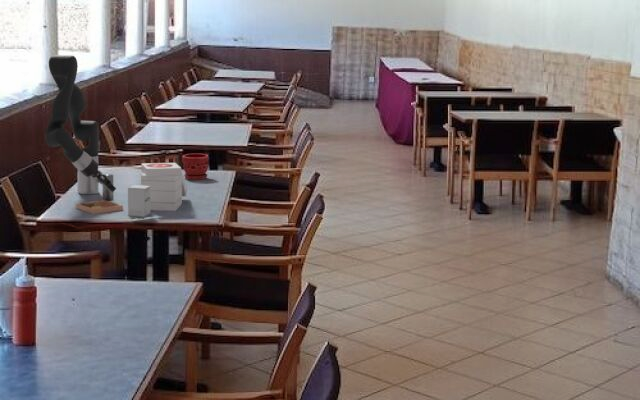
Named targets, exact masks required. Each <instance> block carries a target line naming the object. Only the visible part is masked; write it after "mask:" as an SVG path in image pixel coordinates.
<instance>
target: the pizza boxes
mask: <svg viewBox="0 0 640 400" xmlns="http://www.w3.org/2000/svg"><path fill="white" fill-rule="evenodd" d="M140 165H141V168H140V169H141V172H142V174H141V175H140V185H143V186H150V211H169V212H170V211H173V212H174V211H175V212H176V211H177V210H178V209H179V208H180V207H181V206H182V204H183V197H187V194H188V188H187V185H186V182H185V181H186V180H185V178H184V177H185V176H184V175H183V170H182V167H181V166H180V165H178V164H177V162H151V163H150V162H149V163H148V162H147V163H141V164H140Z"/></svg>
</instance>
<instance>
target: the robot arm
mask: <svg viewBox="0 0 640 400" xmlns="http://www.w3.org/2000/svg"><path fill="white" fill-rule="evenodd" d="M78 67H79V66H78V60H77V58H76V57H75V55H70V54H68V55H66V54H65V55H64V54H56V55H52V56H50V57H49V60H48V68H49V71H50V74H51V77H52V79H53V80H54V83H55V84H56V86H57V89H58V91H59V92H58V93H57V95H55V97H54V99H53V101H52V104H51V110H50V111H51V112H50V118H49V119H50V120H49V121H48V124H47V128H46V131H45V137H44V138H45V142H46V144H47V145H48V146H49V147H51V148H56V147H59V146H60V147H62V149H63V150H62V154H63V157H65V158H66V159H67V160H68V161H69V162H71V164H72V165H73V166H74V167H75V168H76V169H77V173H76V174H77V175H76V176H77V177H76V178H77V179H76V180H77V193H78V194H79V195H80V194H81V195H93V194H95V195H96V194H98V193H99V191H100V190H99V189H100V188H99V185H100V184H101V185H102V186H103V184H104V185H105V186H106V187H108V188H109V189H110V190H111V191H112V192H114V193H115V190H116V189H117V188H116V186H115V185H114V184H113V185H112V184H111V181H110V180H109V179H108V178H107V177H106V176H105V175H104V173H103V172H102V171H101V170H99V150H100V149H99V147H100V144H99V141H100V126H99V123H98V121H96V120H82V119H81V118H80V117H81V115H82V113H84V110H85V108H86V105H87V104H86V103H87V102H86V99H85V96H84V93H83V90H82V89H81V88H80V87H79V85H77V84H76V78H77V74H78ZM69 120H70V124H71V129H72V133H73V135H74V138H75V139H76V140H77V141H81V142H89V143H88V145H87V146H84V147H82V148H81V147H80V146H79V145H78V144H77V142H76V141H75V140H74V138H73V136H72V135H71V133H70V132H69V131H68V130H66V129H65V128H64V126H65V125H67V123H68V121H69ZM107 181H108V182H107ZM106 182H107V183H106Z"/></svg>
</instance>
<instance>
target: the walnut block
mask: <svg viewBox="0 0 640 400" xmlns="http://www.w3.org/2000/svg"><path fill="white" fill-rule="evenodd" d="M91 202H92V201H87V202H86V201H85V202H80V203H81V205H84V206H87V207H90V208H92V206H94V203H91Z"/></svg>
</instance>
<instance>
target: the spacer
mask: <svg viewBox="0 0 640 400" xmlns="http://www.w3.org/2000/svg"><path fill="white" fill-rule="evenodd" d="M103 174H104V173H103ZM104 175H105V176H106V177H107V178H108V179H109V180H110V181H111V184H112V185H113V186H114V174H113V173H105V174H104ZM107 182H108V181H107ZM107 182H106V183H107ZM114 193H115V191H114V192H112V191H111V190H110V189H109V188H108V187H106V186H105V185H104V184H103V185H102V200H106V201H110V202H114V195H115V194H114Z"/></svg>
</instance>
